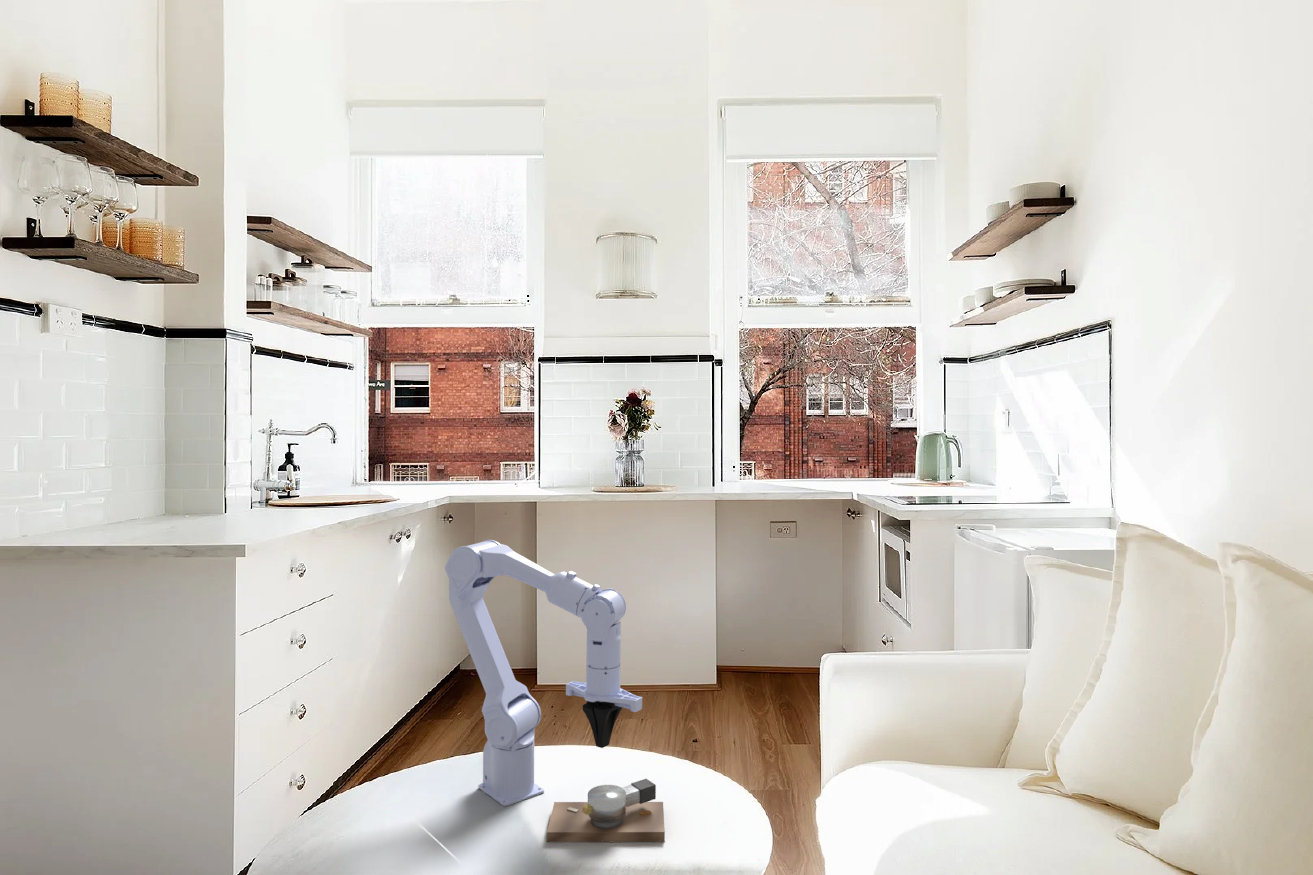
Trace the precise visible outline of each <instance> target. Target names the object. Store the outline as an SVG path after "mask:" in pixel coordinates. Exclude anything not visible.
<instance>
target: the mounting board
mask: <svg viewBox="0 0 1313 875" xmlns="http://www.w3.org/2000/svg"><path fill="white" fill-rule="evenodd" d="M587 804H588V801H554V802H553V806H552V810H551V813H550V819H549V823H548V826H547V830H546V843H630V842H631V843H643V842H645V843H646V842H647V843H652V842H653V843H654V842H655V843H658V842H659V843H660V842H661V843H664V842H665V836H666V835H665V832H666V831H665V817H664V816H665V815H664V814H665V812H664V810H665V809H664V801H648V802H645V803H642V804H640V803H637V804H635V805H632V806H629V807H626V814H625V816H624V817H623V818H621V819H619V820H617V821H613V822H599V821H595V820H593V819H591V818H590V817H589V816H588V814H587V815H585V814H584V813H583V806H584V805H587Z"/></svg>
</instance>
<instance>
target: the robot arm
mask: <svg viewBox="0 0 1313 875" xmlns="http://www.w3.org/2000/svg"><path fill="white" fill-rule="evenodd" d="M448 557H449V558H448V560H447V562H446V564H445V565H444V570H445V572H446V575H447V577H448V601H449V603H450V604H449V605H450V606H451V609H452V610H453V614H454V616H455V619H456V621H457V624H458V626H459V629H460V631H461V634H462V636H463V639H464V642H465V644H466V647H467V649H468V651H469V655H470V657H471V659H472V662H473V664H474V667H475V669H476V672H477V674H478V677H479V679H480V682H481V684H482V687H483V690H484V693H485V698H484V701H483V705H482V706H481V712H482V715H483V719H484V733H485V737H486V739H487V741H486V742H485V744H484V747H483V750H482V783H481V782H480V783H479V784H478V786H477V788H478V789H480V790H481V791H482V792H483V793H485V794H487V795H488V796H489V797H490V798H492V799H493V800H494V801H496V802H497V803H499V804H500V805H502V806H503V807H509V806H511V805H514V804H516V803H520V802H522V801H525V800H528V799H530V798H533V797H537V796H539V795H541V794H543V793H544V792H545V789H544V788H542V787H541V786H540V785H538V784H536V783H535V728H537V726H538V725H539V724H540V722H541V718H542V710H541V707H540V704H539V702H537V700H536V699H535V698H534V697H533V696H532V695H531V693H530V692H529V689H528V687H527V686H526V685H525V684H523V683H522V682H520V681H518V680H516V677H515V675H514V672H513V670H512V668H511V666H510V663H509V660H508V658H507V656H506V653H505V651H504V648H503V645H502V643H501V641H500V638H499V635H498V633H497V630H496V628H495V626H494V622H493V620H492V618H491V615H490V613H489V610H488V607H487V605H486V602H485V600H484V596H485V594H486V592H487V589H488V587H489V585H490V583H491V582H492V581H493V580H494V579H495V577H499V576H507V577H510V578H512V579H514V580H517V581H518V582H521V583H523V584H526V585H528V586H530V587H533V588H535V589H537V590H540V591H542V592H544V593H545V595H546V598H547V601H548V602H549V603H550V604H552V605H554V606H557V607H559V608H560V609H563V610H565V611H566V612H569V613H571V614H573V615H574V616H576V617H578V618H581V621H582V624H583V625H584V626H585V627H586V665H585V667H586V668H585V669H586V670H585V672H586V673H585V675H586V676H585V677H586V678H585V682H581V681H576V680H573V681H570V682H567V683H565V696H569V697H572V696H576V697H579V698H580V697H581V698H583V699H584V701H586V703H584V704H582V711H583V713H584V715H585V716H586V718H587V721H588V722H589V725H590V728H591V731H592V735H593V739H594V742H595V746H596V748H601V749H603V748H605V747H607V746H609V745H610V743H611V742H610V741H611V738H612V733H613V730H614V727H615V724H616V722H617V719H618V717H619V715H620V713H621V711H622V710H623V708H624V709H628V710H630V712H633V713H637V712H639V711H641V710H642V709H643V696H639V695H636V694H633V693H631V692H630V691H627V690H625V689H623V688H621V660H622V659H621V655H622V654H621V653H622V651H621V650H622V648H621V647H622V646H621V642H622V636H621V635H622V634H621V632H622V631H621V628H622V624H621V623H622V622H621V620H622V619H623V617H624V616H625V614H626V609H627V604H626V600H625V598H624V597H623V596H622V594H620V592H618V591H617V590H616V589H614V588H611V587H609V588H604V589H601V586H600V585H599V584H596V583H595V584H594V585H593V584H591V583H589V582H587V581H586V580H584V579H582V578H579V577H577V576H578V575H577V574H578V573H577V572H574V571H573V570H570V571H568V572H567V571H560V572H558V573H553V572H552V571H549V570H548V569H546V568H545V567H542V566H540V565H539V564H538V563H535V562H534V561H532V560H530V559H528V558H527V557H525V556H523V555H521V554H519V553H517V552H516V551H514V550H513V549H512V548H511V547H510V546H508V545H506V544H503V543H500V542H498V541H496V540H493V539H486V540H483V541H481V542H476V543H473V544H469V545H462V546H458V547H456V548H455V549H454V550H453V551H452V552H451V553H450V555H449V556H448Z"/></svg>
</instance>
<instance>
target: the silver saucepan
mask: <svg viewBox="0 0 1313 875" xmlns="http://www.w3.org/2000/svg"><path fill="white" fill-rule="evenodd" d="M656 790H657V785H656V783H653V782H652V781H651V780H649V779H648V778H643V779H640V780H638V781H635V782H631V784H629V785H626V786H622V787H621V786H618V785H616V784H615V785H613V784H601V785H596V786H594V787H592V788H590V789H589V790H588V792H587V802H588V804H587V805H584V806H583V813H584V814H585V815H587V814H588V816H589V817H590V818H591V819H593V820H595V821H599V822H613V821H617V820H619V819H621V818H623V817H624V816H625V814H626V807H629V806H632V805H635V804H637V803H640V804H642V803H645V802H652V801H653V800H656V796H657V795H656V792H657V791H656Z"/></svg>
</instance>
